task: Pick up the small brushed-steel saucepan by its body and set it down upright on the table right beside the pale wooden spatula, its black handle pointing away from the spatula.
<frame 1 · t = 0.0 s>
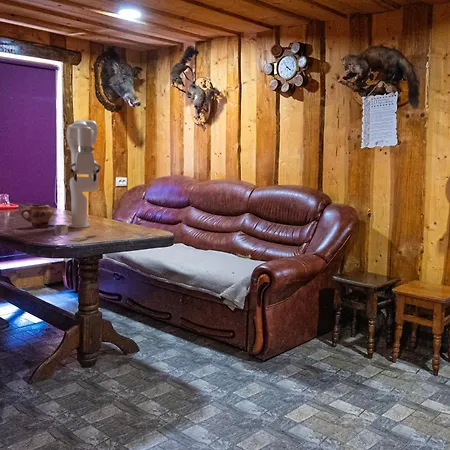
hand: (85, 181, 287), 31 cm above the table, tool pointing down, fingers open, 9 cm apart
spatula: (84, 238, 288), on the table
saucepan: (61, 233, 302), on the table
brown ceramic pot: (37, 227, 326), on the table
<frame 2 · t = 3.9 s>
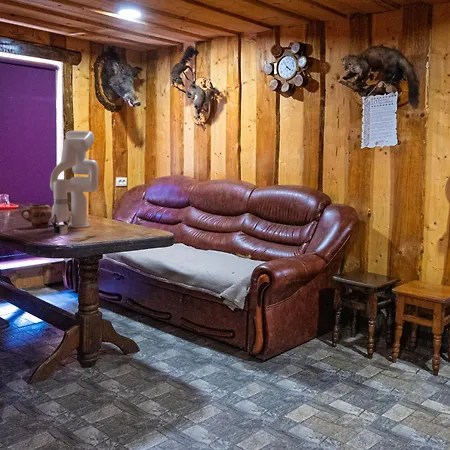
hand: (61, 232, 302), 1 cm above the table, tool pointing down, fingers closed on saucepan, 7 cm apart
saucepan: (61, 234, 302), on the table, touching gripper
everything else where it was.
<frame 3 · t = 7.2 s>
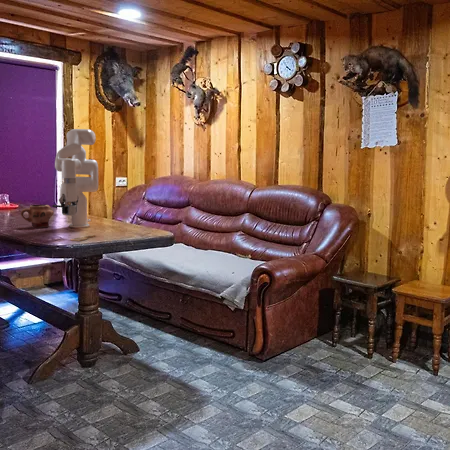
hand: (69, 212, 291), 13 cm above the table, tool pointing down, fingers closed on saucepan, 7 cm apart
saucepan: (69, 214, 292), point 12 cm above the table, touching gripper
everything else where it was.
when the fingers open (1 cm above the table, at t = 10.5 s): saucepan stays where it is, on the table.
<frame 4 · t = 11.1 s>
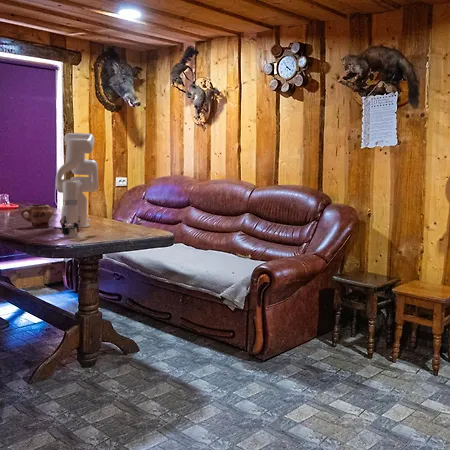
hand: (70, 233, 292), 2 cm above the table, tool pointing down, fingers open, 9 cm apart
saucepan: (70, 236, 293), on the table
everything else where it was.
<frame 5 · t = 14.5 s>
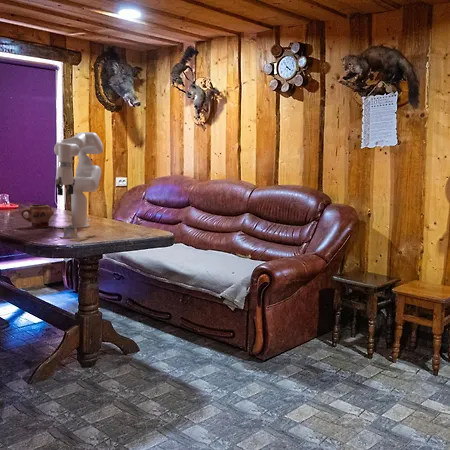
hand: (65, 194, 305), 22 cm above the table, tool pointing down, fingers open, 9 cm apart
nothing on the table moved.
at the end: saucepan inside the target area (0.6 cm from its centre), on the table; saucepan tilted 0°; the gripper is holding nothing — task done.
